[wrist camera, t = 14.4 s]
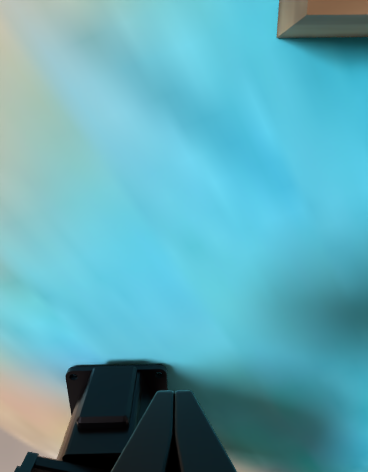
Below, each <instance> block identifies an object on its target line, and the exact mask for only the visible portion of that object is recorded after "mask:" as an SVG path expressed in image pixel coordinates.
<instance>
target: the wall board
mask: <svg viewBox="0 0 368 472" xmlns="http://www.w3.org/2000/svg"><path fill="white" fill-rule="evenodd" d="M316 37H368V0H279V12H278V26H277V38H316Z"/></svg>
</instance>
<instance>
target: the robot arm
mask: <svg viewBox="0 0 368 472" xmlns="http://www.w3.org/2000/svg"><path fill="white" fill-rule="evenodd" d="M157 372H161V373H162V374H157ZM72 374H75V375H77V376H73V375H72ZM66 383H67V389H68V396H69V402H70V408H71V415H72V417H71V420H70V422H69V425H68V428H67V431H66V434H65V437H64V440H63V443H62V445H61V448H60V451H59V454H58V457H57V460H56V459H51V458H46V457H41V456H39V454H37V453H32V452H28V453H27V455H26V457H25V459H24V461H23V463H22V465H21V466H17V468H16V469H15V471H14V472H237V471H236V469H235V467H234V466H233V464H232V462H231V460H230V458H229V457H228V455H227V453H226V451H225V449H224V448H223V446H222V444H221V442H220V440H219V439H218V437H217V435H216V433H215V431H214V430H213V428H212V426H211V424H210V422H209V421H208V419H207V417H206V415H205V413H204V412H203V410H202V408H201V406H200V404H199V403H198V401H197V399H196V397H195V395H194V393H193V392H192V391H191V390H176V391H175V394H174V392H173V391H172V390H168V388H167V369H166V368H165V366H163V365H122V366H78V367H71V368H69V369H68V371H67V373H66Z"/></svg>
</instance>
